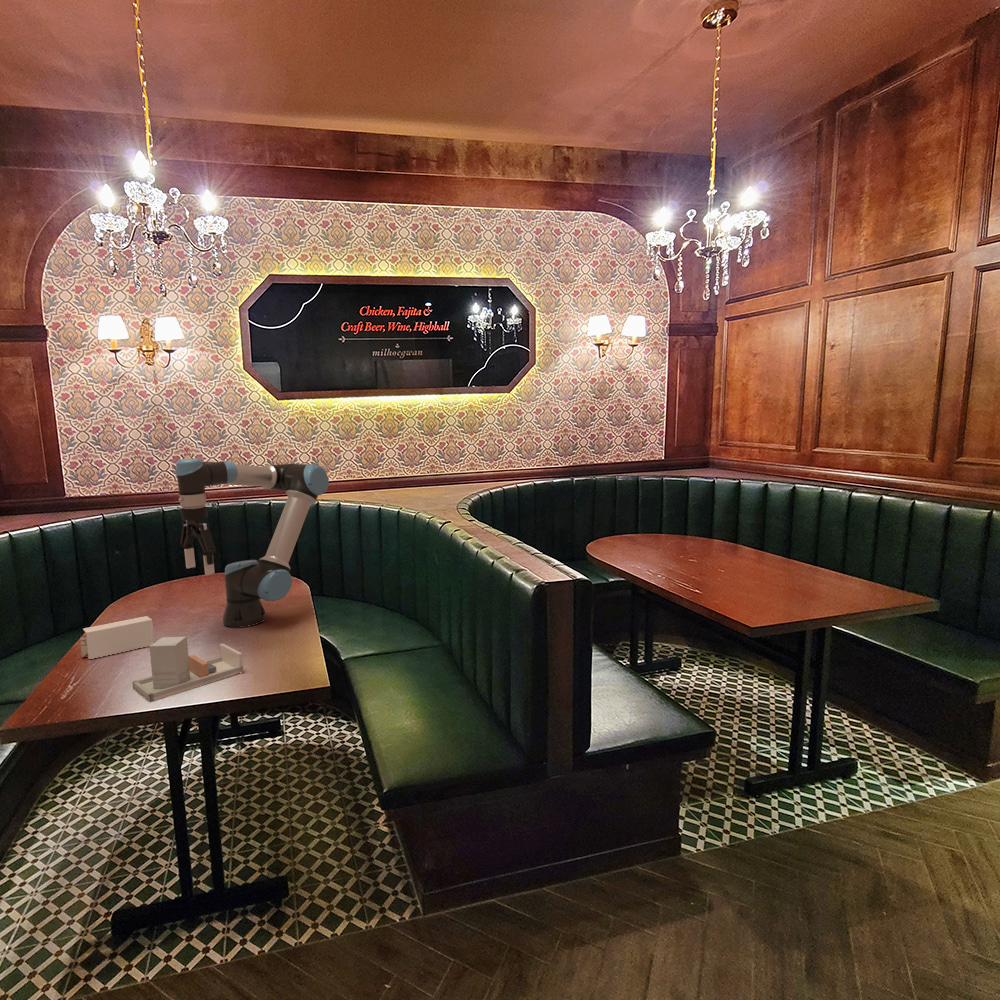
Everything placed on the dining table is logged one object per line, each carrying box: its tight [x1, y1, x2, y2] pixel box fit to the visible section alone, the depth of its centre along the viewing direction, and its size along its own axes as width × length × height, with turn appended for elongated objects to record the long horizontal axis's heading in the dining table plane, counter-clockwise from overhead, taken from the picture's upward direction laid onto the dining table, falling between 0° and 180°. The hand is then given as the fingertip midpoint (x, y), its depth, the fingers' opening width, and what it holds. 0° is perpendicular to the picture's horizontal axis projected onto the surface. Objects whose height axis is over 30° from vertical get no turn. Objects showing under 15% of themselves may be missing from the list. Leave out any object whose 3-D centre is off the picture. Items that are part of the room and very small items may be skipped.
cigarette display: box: [79, 615, 155, 660], centre depth 203 cm, size 20×6×9 cm, turn 133°
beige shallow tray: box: [131, 643, 244, 703], centre depth 180 cm, size 26×13×6 cm, turn 138°
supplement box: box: [148, 636, 190, 688], centre depth 176 cm, size 7×7×13 cm
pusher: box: [188, 654, 216, 678], centre depth 183 cm, size 5×10×4 cm, turn 48°
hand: (200, 570), depth 201 cm, fingers open, 13 cm apart
